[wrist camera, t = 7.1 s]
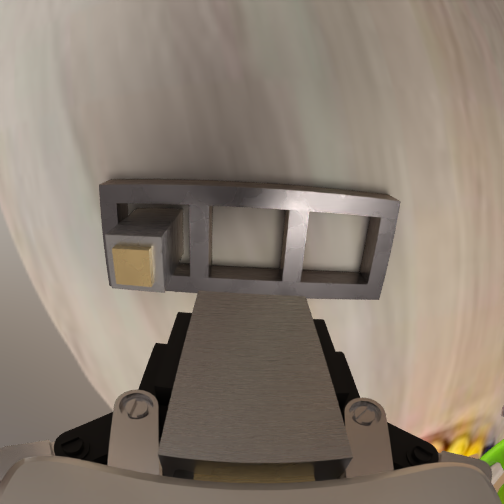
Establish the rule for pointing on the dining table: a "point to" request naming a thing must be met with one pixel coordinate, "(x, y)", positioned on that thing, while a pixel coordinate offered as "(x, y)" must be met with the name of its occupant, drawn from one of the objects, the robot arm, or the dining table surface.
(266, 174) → the dining table surface
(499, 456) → the green goblet
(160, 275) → the grey tan rectangular block
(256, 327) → the brushed metal block
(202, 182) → the rail
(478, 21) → the dining table surface
